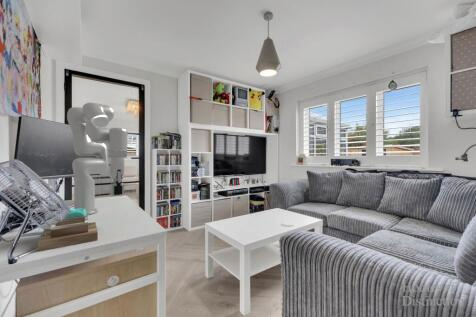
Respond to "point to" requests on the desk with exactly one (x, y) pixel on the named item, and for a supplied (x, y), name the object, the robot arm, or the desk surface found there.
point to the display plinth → (67, 239)
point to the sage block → (113, 190)
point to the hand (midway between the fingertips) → (117, 193)
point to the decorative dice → (76, 213)
